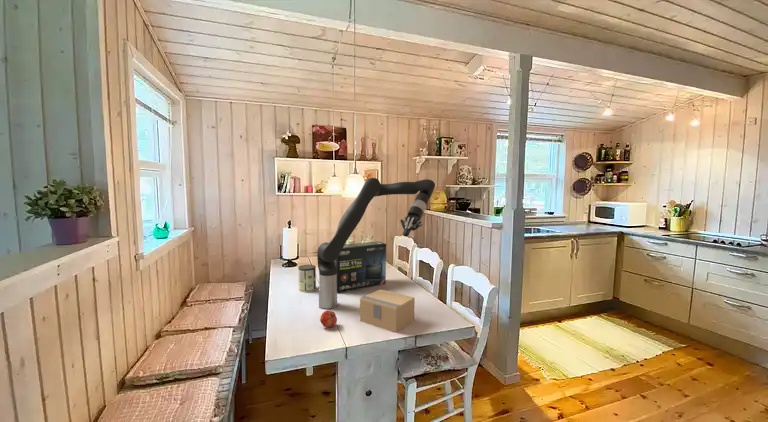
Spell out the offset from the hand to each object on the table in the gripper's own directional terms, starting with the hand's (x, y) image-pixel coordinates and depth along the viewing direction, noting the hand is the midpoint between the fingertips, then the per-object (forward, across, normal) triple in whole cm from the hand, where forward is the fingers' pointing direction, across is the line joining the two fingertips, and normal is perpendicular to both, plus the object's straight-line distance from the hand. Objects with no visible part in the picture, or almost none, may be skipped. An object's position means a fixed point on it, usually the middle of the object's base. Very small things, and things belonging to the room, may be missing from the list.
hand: (404, 235), depth 166 cm
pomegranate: (+54, -16, 0) cm, 57 cm away
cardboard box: (+40, +2, +14) cm, 42 cm away
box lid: (+33, +2, +7) cm, 33 cm away
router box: (+17, -42, +37) cm, 58 cm away
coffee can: (+34, -63, +20) cm, 75 cm away
